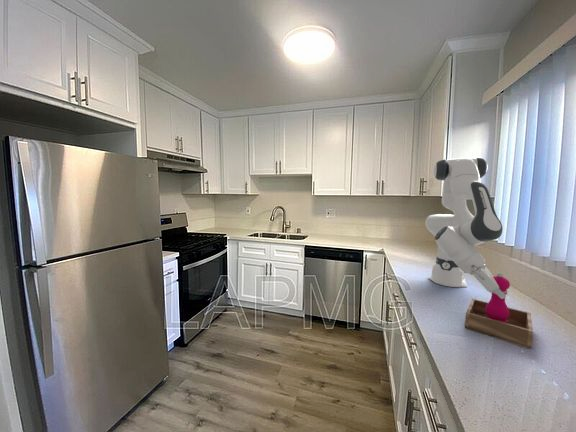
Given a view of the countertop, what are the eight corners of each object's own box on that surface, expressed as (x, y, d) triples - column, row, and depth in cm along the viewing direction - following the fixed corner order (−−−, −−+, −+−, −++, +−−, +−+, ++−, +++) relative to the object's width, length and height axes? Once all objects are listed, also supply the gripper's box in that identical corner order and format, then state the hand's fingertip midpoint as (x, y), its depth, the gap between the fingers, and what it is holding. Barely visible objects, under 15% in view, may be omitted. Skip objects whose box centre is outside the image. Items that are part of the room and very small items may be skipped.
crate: (470, 311, 107) (472, 298, 106) (528, 327, 95) (530, 312, 94) (464, 328, 93) (465, 312, 93) (531, 349, 81) (533, 331, 81)
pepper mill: (483, 323, 95) (486, 273, 93) (485, 316, 101) (488, 268, 98) (508, 330, 90) (512, 277, 88) (508, 322, 96) (513, 272, 94)
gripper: (482, 264, 87) (516, 298, 82) (476, 253, 104) (504, 280, 100) (465, 274, 90) (497, 307, 85) (462, 261, 107) (489, 288, 102)
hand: (501, 293), depth 93 cm, fingers open, 8 cm apart
